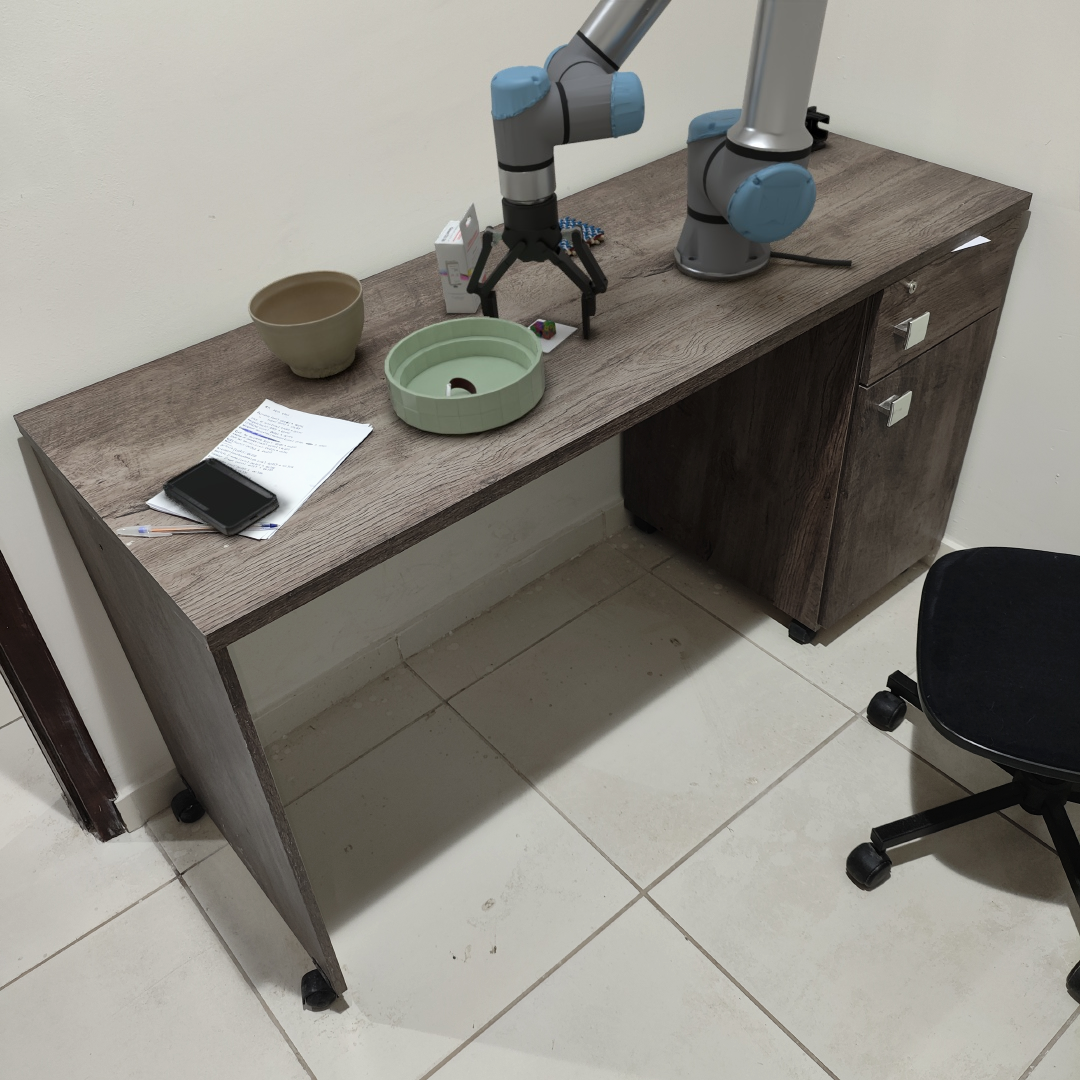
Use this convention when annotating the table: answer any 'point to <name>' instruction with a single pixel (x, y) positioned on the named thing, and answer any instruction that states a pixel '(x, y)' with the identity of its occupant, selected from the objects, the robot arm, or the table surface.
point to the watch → (460, 385)
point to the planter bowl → (311, 320)
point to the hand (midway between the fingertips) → (541, 335)
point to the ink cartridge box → (459, 262)
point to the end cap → (816, 127)
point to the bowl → (465, 374)
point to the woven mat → (588, 234)
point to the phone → (221, 496)
